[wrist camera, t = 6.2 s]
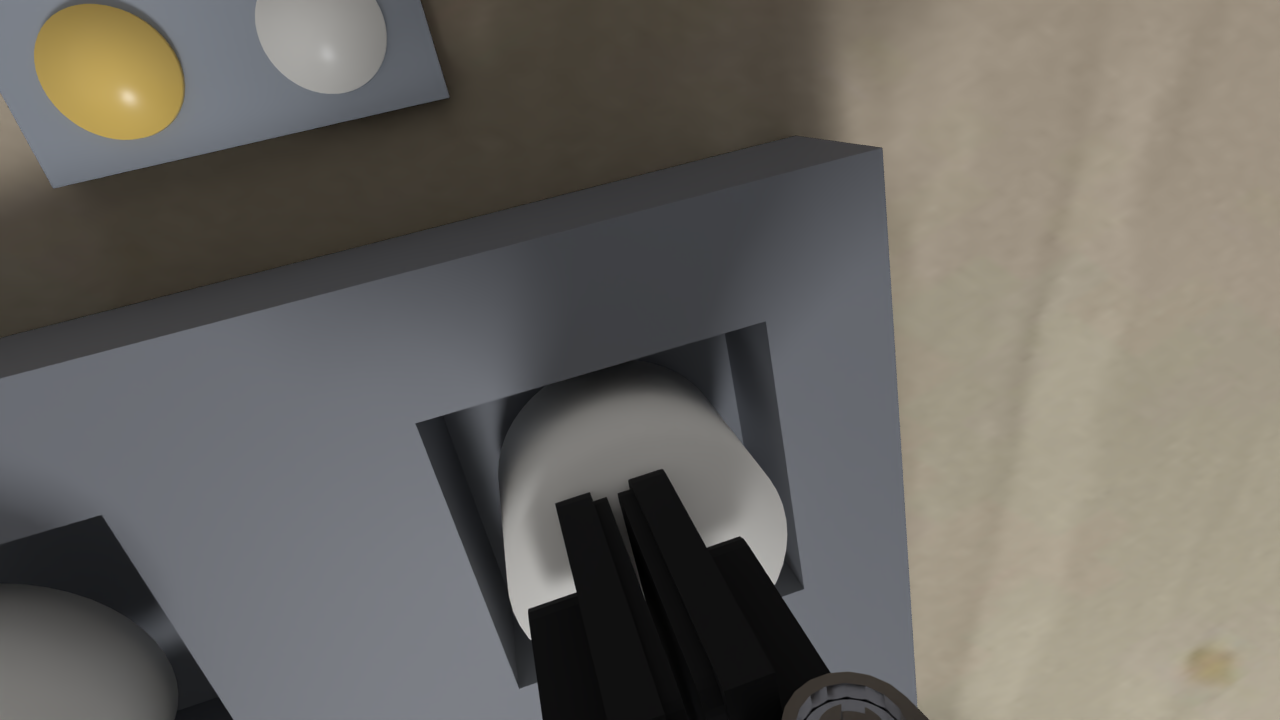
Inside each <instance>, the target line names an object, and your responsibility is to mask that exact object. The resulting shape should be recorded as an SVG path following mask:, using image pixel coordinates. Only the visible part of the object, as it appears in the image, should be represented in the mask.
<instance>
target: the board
mask: <svg viewBox="0 0 1280 720" xmlns="http://www.w3.org/2000/svg"><path fill="white" fill-rule="evenodd" d="M631 360H635V361H642V362H648V363H652V364H656V365H659V366H662V367H665V368H667V369H669V370H672V371H674V372H676V373H678V374H679V375H681V376H683V377H684V378H686V379H687V380H689V381H690V382H691V383H692V384H693V385H694V386H696V387H697V388H698V389H699V390H700V391H701V393H702V394H703V395H704V396H705V397H706V398H707V400H708V401H709V402H710V403H711V405H712V406H713V407H714V409H715V410H716V411H717V412H718V414H719V415H720V416H721V418H722V419H723V420H724V421H725V423H726V424H727V425H728V426H729V428H730V429H731V430H732V432H733V433H734V434H735V435H736V437H737V438H738V439H739V440H740V442H741V443H742V444H743V446H744V447H745V448H746V449H747V451H748V452H749V453H750V454H751V456H752V457H753V458H754V460H755V461H756V462H757V463H758V465H759V466H760V467H761V468H762V470H763V471H764V472H765V474H766V475H767V476H768V477H769V479H770V480H771V482H772V484H773V485H774V487H775V488H776V490H777V492H778V494H779V497H780V499H781V502H782V504H783V507H784V512H785V516H786V522H787V546H786V553H785V557H784V562H783V566H782V569H781V571H780V574H779V577H778V580H777V582H776V584H775V587H776V589H777V590H778V592H779V593H780V595H781V596H782V598H783V599H784V601H785V603H786V604H787V606H788V607H789V609H790V610H791V612H792V613H793V615H794V617H795V618H796V620H797V621H798V623H799V624H800V626H801V627H802V629H803V631H804V632H805V634H806V635H807V637H808V638H809V640H810V641H811V643H812V645H813V646H814V648H815V649H816V651H817V652H818V654H819V655H820V657H821V658H822V660H823V662H824V663H825V665H826V666H827V668H828V669H829V671H830V672H831V673H836V672H848V671H849V672H855V673H861V674H867V675H871V676H873V677H875V678H878V679H880V680H882V681H885V682H887V683H889V684H891V685H892V686H893V687H895V688H896V689H897V690H898V691H900V692H901V693H902V694H904V695H905V696H906V697H907V698H908V699H909V700H910V701H911V702H912V703H913V704H914V705H915V706H916V707H917V694H916V678H915V662H914V646H913V630H912V614H911V598H910V582H909V566H908V550H907V534H906V518H905V502H904V486H903V470H902V454H901V438H900V422H899V406H898V390H897V374H896V358H895V342H894V326H893V310H892V294H891V278H890V262H889V246H888V230H887V214H886V198H885V182H884V166H883V150H882V148H881V147H873V146H866V145H859V144H852V143H845V142H837V141H830V140H823V139H816V138H808V137H801V136H793V137H789V138H785V139H781V140H777V141H773V142H769V143H765V144H761V145H757V146H753V147H749V148H745V149H741V150H738V151H734V152H730V153H726V154H722V155H718V156H714V157H710V158H706V159H702V160H698V161H694V162H690V163H686V164H683V165H679V166H675V167H671V168H667V169H663V170H659V171H655V172H651V173H647V174H643V175H639V176H635V177H631V178H627V179H624V180H620V181H616V182H612V183H608V184H604V185H600V186H596V187H592V188H588V189H584V190H580V191H576V192H572V193H569V194H565V195H561V196H557V197H553V198H549V199H545V200H541V201H537V202H533V203H529V204H525V205H521V206H517V207H514V208H510V209H506V210H502V211H498V212H494V213H490V214H486V215H482V216H478V217H474V218H470V219H466V220H462V221H458V222H455V223H451V224H447V225H443V226H439V227H435V228H431V229H427V230H423V231H419V232H415V233H411V234H407V235H403V236H400V237H396V238H392V239H388V240H384V241H380V242H376V243H372V244H368V245H364V246H360V247H356V248H352V249H348V250H344V251H341V252H337V253H333V254H329V255H325V256H321V257H317V258H313V259H309V260H305V261H301V262H297V263H293V264H289V265H286V266H282V267H278V268H274V269H270V270H266V271H262V272H258V273H254V274H250V275H246V276H242V277H238V278H234V279H231V280H227V281H223V282H219V283H215V284H211V285H207V286H203V287H199V288H195V289H191V290H187V291H183V292H179V293H175V294H172V295H168V296H164V297H160V298H156V299H152V300H148V301H144V302H140V303H136V304H132V305H128V306H124V307H120V308H117V309H113V310H109V311H105V312H101V313H97V314H93V315H89V316H85V317H81V318H77V319H73V320H69V321H65V322H62V323H58V324H54V325H50V326H46V327H42V328H38V329H34V330H30V331H26V332H22V333H18V334H14V335H10V336H6V337H3V338H0V583H5V584H26V585H33V586H41V587H48V588H52V589H57V590H61V591H66V592H70V593H73V594H76V595H79V596H82V597H86V598H89V599H91V600H94V601H96V602H98V603H101V604H103V605H105V606H107V607H110V608H111V609H113V610H115V611H117V612H119V613H120V614H122V615H124V616H126V617H127V618H129V619H130V620H131V621H133V622H134V623H135V624H137V625H138V626H139V627H141V628H142V629H143V630H144V631H145V632H146V633H147V634H148V635H149V636H150V637H152V638H153V639H154V640H155V642H156V643H157V644H158V645H159V647H160V648H161V649H162V651H163V652H164V653H165V655H166V657H167V659H168V660H169V662H170V664H171V666H172V668H173V671H174V674H175V677H176V680H177V687H178V708H177V712H176V717H175V720H543V719H542V712H541V705H540V698H539V691H538V684H537V676H536V669H535V662H534V655H533V648H532V641H531V640H530V639H529V638H528V636H527V635H526V634H525V632H524V631H523V629H522V628H521V626H520V625H519V623H518V621H517V619H516V616H515V614H514V612H513V609H512V606H511V602H510V599H509V594H508V584H507V574H506V562H505V551H504V539H503V528H502V516H501V505H500V493H499V482H498V465H499V458H500V453H501V448H502V445H503V442H504V439H505V436H506V434H507V432H508V430H509V428H510V426H511V424H512V422H513V421H514V419H515V418H516V416H517V415H518V413H519V412H520V411H521V409H522V408H523V407H524V406H525V405H526V404H527V402H528V401H529V400H530V399H531V398H532V397H533V396H534V395H535V394H537V393H538V392H539V391H540V390H541V389H542V388H544V387H545V386H546V385H549V384H552V383H556V382H559V381H563V380H566V379H569V378H573V377H576V376H580V375H583V374H587V373H590V372H593V371H597V370H600V369H604V368H607V367H611V366H614V365H617V364H621V363H624V362H628V361H631Z"/></svg>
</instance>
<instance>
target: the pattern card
mask: <svg viewBox="0 0 1280 720" xmlns="http://www.w3.org/2000/svg"><path fill="white" fill-rule="evenodd" d="M0 93H1V94H2V96H3V98H4V100H5V102H6V103H7V105H8V107H9V109H10V111H11V113H12V114H13V116H14V118H15V120H16V122H17V124H18V125H19V127H20V129H21V131H22V133H23V134H24V136H25V138H26V140H27V142H28V144H29V145H30V147H31V149H32V151H33V153H34V154H35V156H36V158H37V160H38V162H39V164H40V165H41V167H42V169H43V171H44V173H45V174H46V176H47V178H48V180H49V182H50V184H51V185H52V187H53V188H58V187H62V186H67V185H71V184H75V183H80V182H84V181H88V180H93V179H97V178H101V177H106V176H110V175H114V174H119V173H123V172H127V171H132V170H136V169H141V168H145V167H149V166H154V165H158V164H162V163H167V162H171V161H175V160H180V159H184V158H188V157H193V156H197V155H201V154H206V153H210V152H215V151H219V150H223V149H228V148H232V147H236V146H241V145H245V144H249V143H254V142H258V141H262V140H267V139H271V138H275V137H280V136H284V135H289V134H293V133H297V132H302V131H306V130H310V129H315V128H319V127H323V126H328V125H332V124H336V123H341V122H345V121H349V120H354V119H358V118H363V117H367V116H371V115H376V114H380V113H384V112H389V111H393V110H397V109H402V108H406V107H410V106H415V105H419V104H423V103H428V102H432V101H436V100H441V99H445V98H449V97H450V96H449V93H448V89H447V86H446V83H445V79H444V76H443V73H442V69H441V66H440V63H439V60H438V56H437V53H436V50H435V46H434V43H433V40H432V36H431V33H430V30H429V26H428V23H427V20H426V16H425V13H424V10H423V6H422V3H421V0H0Z"/></svg>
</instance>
